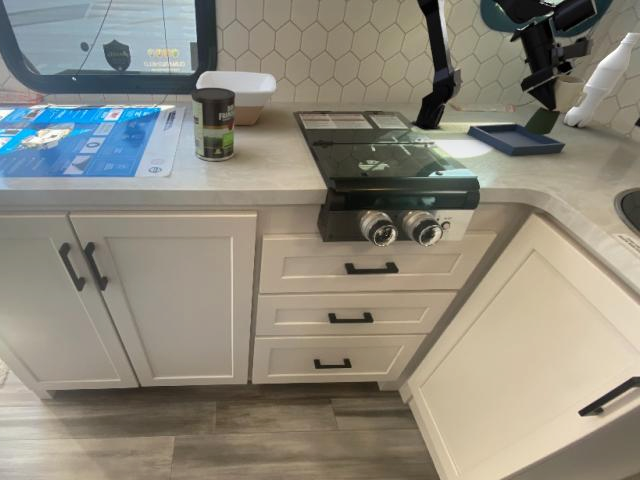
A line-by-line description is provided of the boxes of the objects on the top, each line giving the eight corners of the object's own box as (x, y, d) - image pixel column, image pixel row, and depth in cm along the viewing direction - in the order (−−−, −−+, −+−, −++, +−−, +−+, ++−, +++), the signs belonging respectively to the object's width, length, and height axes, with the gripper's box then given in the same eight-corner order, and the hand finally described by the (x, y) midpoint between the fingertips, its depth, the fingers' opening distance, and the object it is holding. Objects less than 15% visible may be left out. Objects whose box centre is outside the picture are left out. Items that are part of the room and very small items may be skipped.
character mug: (562, 136, 93) (600, 82, 83) (550, 143, 90) (588, 88, 80) (521, 122, 99) (552, 70, 89) (508, 129, 96) (539, 75, 86)
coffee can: (241, 151, 92) (243, 91, 82) (219, 165, 85) (219, 101, 75) (210, 143, 95) (208, 84, 85) (186, 155, 89) (182, 93, 79)
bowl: (271, 108, 120) (274, 73, 112) (274, 133, 102) (278, 93, 95) (203, 105, 120) (202, 69, 112) (195, 130, 102) (192, 89, 95)
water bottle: (564, 126, 116) (624, 33, 99) (558, 120, 121) (615, 30, 103) (588, 129, 114) (655, 36, 97) (582, 123, 119) (644, 33, 102)
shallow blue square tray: (509, 155, 96) (514, 147, 94) (466, 133, 108) (470, 125, 106) (560, 152, 99) (565, 143, 97) (513, 130, 111) (517, 123, 109)
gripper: (571, 23, 75) (591, 93, 77) (594, 19, 84) (611, 82, 86) (511, 59, 85) (530, 120, 87) (537, 52, 94) (554, 108, 96)
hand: (558, 107), depth 89 cm, fingers closed on character mug, 7 cm apart
